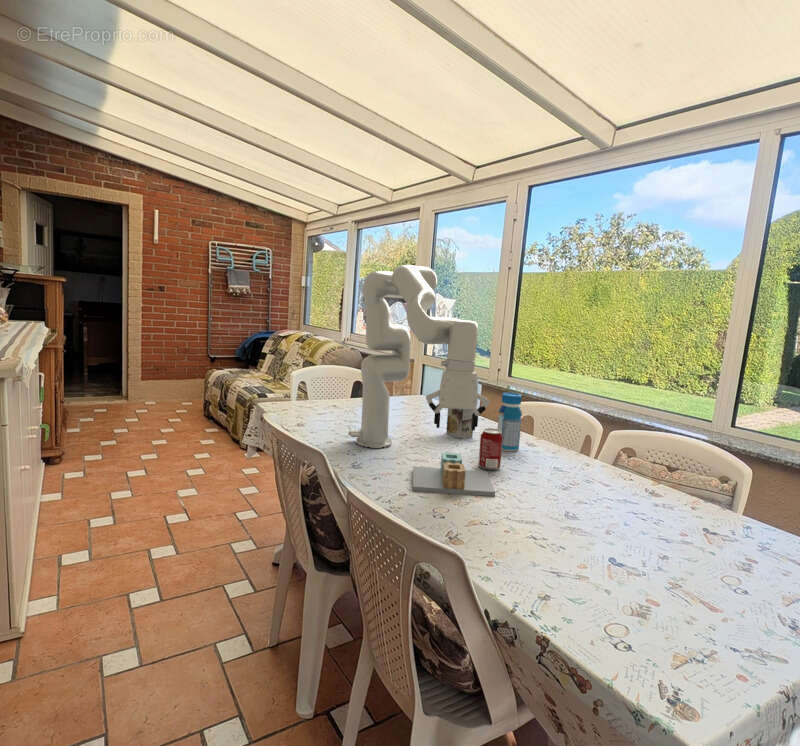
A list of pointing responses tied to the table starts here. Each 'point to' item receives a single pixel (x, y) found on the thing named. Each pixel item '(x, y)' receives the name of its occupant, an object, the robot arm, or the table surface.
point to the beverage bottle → (510, 421)
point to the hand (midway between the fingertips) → (455, 427)
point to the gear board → (432, 482)
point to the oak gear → (453, 475)
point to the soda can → (490, 449)
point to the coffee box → (459, 423)
